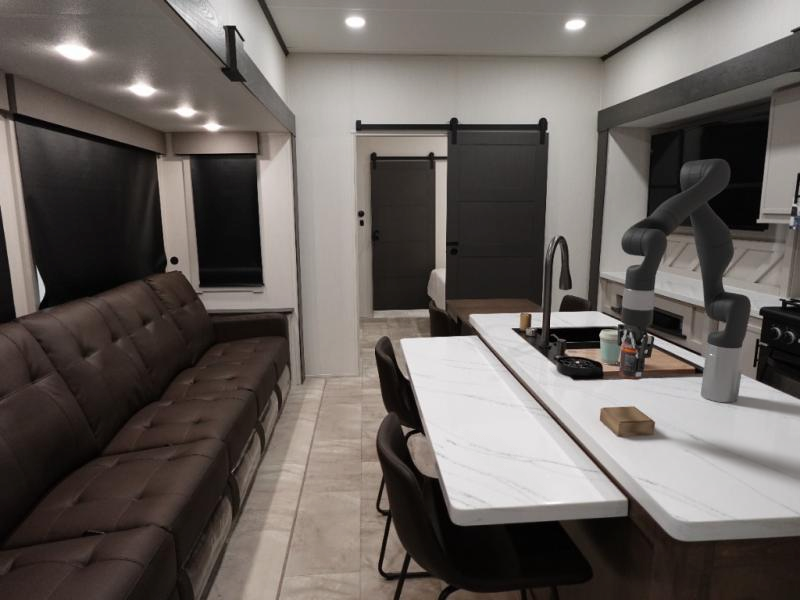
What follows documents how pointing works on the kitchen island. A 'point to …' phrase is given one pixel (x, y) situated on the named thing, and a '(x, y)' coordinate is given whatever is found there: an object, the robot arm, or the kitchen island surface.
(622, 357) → the supplement bottle
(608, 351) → the coffee cup
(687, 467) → the kitchen island surface
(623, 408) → the plinth
